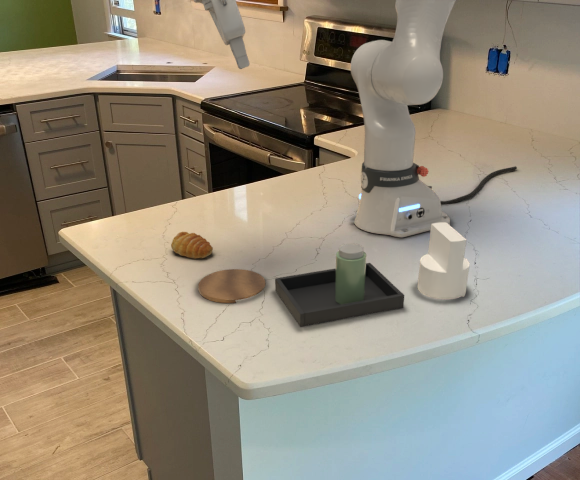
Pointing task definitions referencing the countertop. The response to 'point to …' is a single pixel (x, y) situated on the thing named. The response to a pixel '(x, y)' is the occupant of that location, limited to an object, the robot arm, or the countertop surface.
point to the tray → (321, 296)
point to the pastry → (191, 245)
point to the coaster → (231, 285)
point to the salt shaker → (350, 273)
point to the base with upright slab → (444, 264)
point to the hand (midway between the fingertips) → (244, 67)
